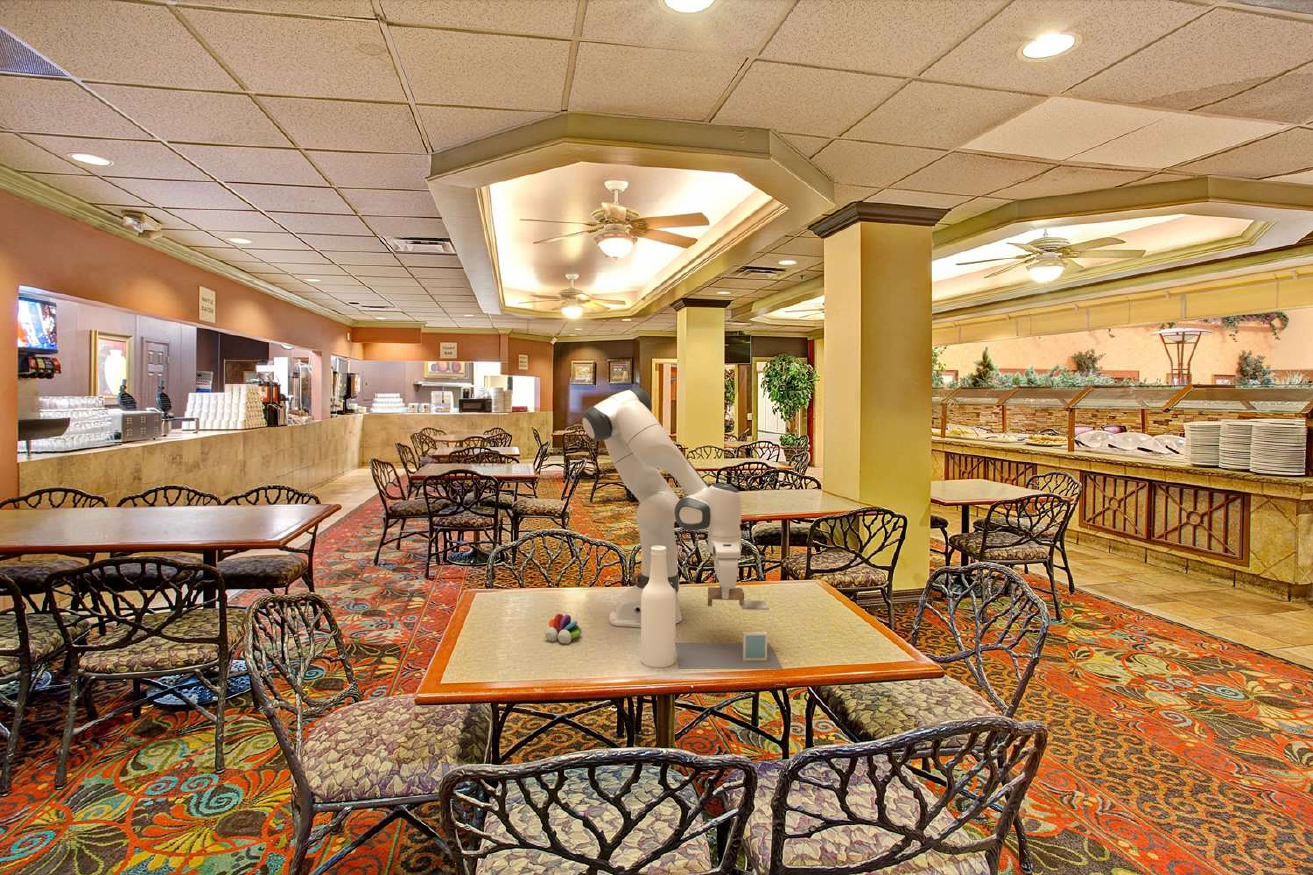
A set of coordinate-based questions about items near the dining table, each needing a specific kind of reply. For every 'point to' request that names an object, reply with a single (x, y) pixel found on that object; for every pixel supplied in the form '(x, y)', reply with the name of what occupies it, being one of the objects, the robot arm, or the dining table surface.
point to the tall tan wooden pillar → (736, 598)
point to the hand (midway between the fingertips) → (724, 596)
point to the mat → (721, 657)
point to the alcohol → (658, 614)
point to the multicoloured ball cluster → (562, 629)
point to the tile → (754, 645)
